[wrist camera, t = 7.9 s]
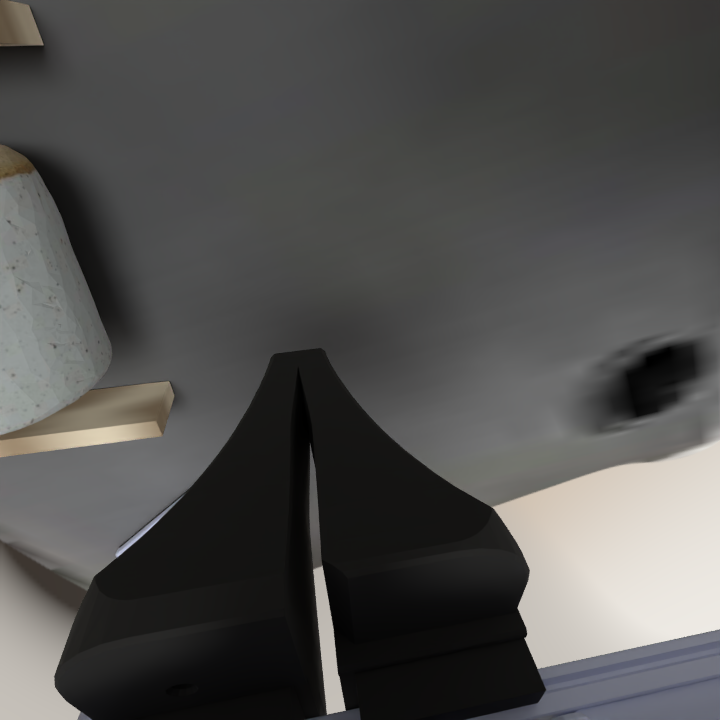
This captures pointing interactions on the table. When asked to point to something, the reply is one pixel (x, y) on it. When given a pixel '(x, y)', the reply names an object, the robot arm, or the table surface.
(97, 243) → the table surface
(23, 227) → the ceramic mug
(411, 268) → the table surface
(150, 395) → the bracket
